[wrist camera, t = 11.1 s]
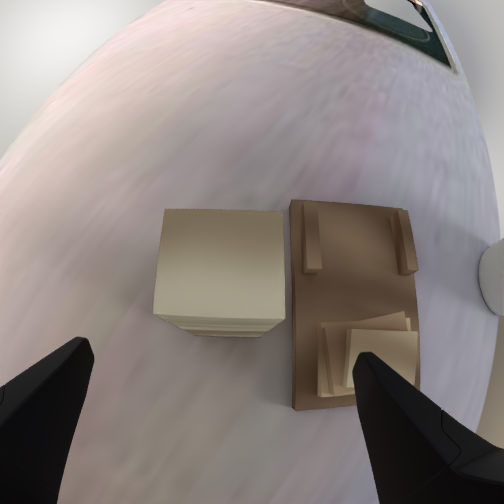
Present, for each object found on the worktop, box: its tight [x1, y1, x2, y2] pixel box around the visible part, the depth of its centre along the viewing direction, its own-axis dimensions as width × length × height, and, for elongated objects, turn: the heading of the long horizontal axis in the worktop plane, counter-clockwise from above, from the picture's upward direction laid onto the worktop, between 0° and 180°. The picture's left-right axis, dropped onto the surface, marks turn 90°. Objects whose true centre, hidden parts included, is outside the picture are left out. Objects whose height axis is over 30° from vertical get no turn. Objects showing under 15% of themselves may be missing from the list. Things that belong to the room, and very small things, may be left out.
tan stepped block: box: [289, 199, 420, 411], centre depth 19 cm, size 16×10×4 cm, turn 179°
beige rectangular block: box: [153, 209, 285, 337], centre depth 15 cm, size 4×4×11 cm
